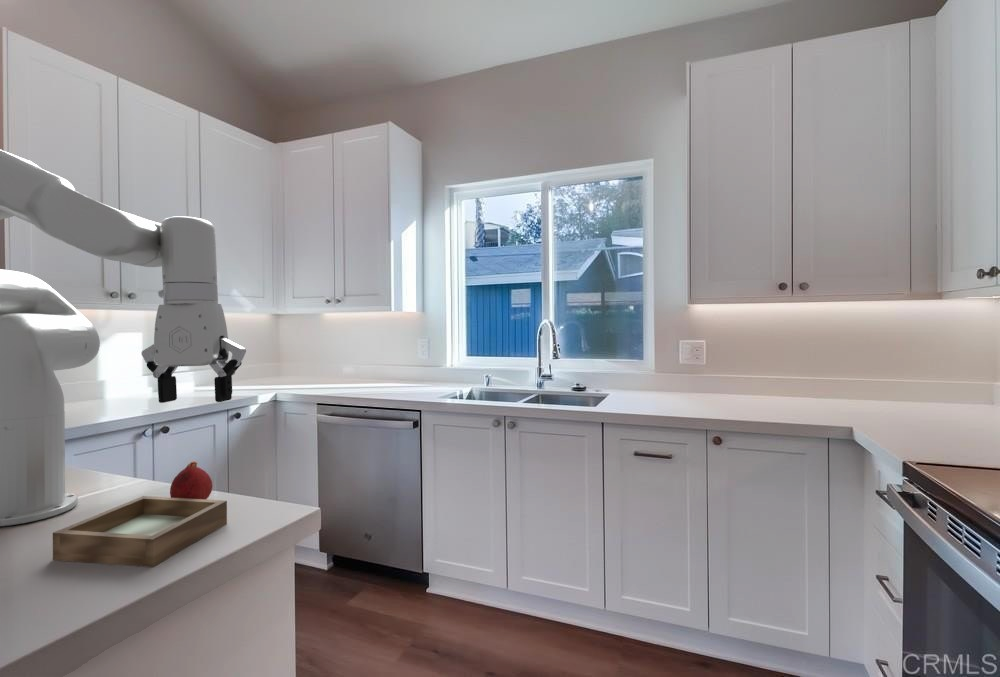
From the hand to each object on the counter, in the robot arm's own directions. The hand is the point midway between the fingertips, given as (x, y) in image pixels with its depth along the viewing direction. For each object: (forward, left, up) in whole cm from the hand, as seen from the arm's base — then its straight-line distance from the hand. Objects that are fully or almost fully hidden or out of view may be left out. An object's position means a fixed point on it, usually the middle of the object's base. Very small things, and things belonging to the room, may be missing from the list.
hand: (195, 401), depth 81 cm
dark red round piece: (0, -1, -18) cm, 18 cm away
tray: (+2, -12, -18) cm, 21 cm away
